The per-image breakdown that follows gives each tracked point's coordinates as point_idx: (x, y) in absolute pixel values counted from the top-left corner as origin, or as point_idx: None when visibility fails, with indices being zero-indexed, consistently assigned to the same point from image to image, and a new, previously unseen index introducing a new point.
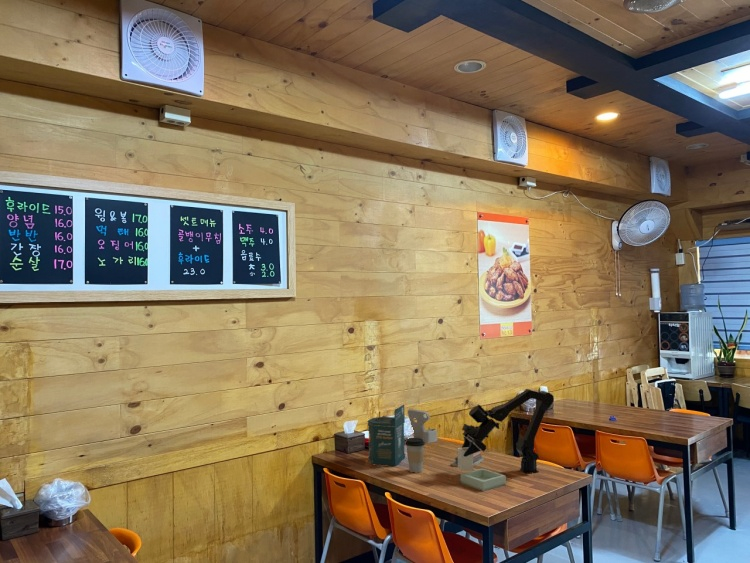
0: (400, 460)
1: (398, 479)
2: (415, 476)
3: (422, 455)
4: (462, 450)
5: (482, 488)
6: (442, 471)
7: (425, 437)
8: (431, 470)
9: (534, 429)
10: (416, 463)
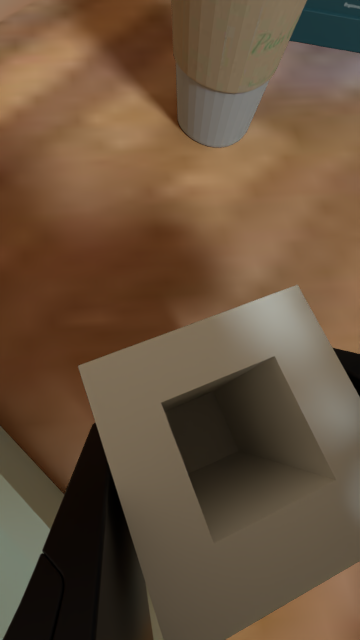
0: (356, 39)
1: (45, 57)
2: (110, 124)
3: (219, 34)
4: (120, 392)
5: None
6: (245, 259)
7: None
8: (249, 195)
9: None
10: (177, 64)
